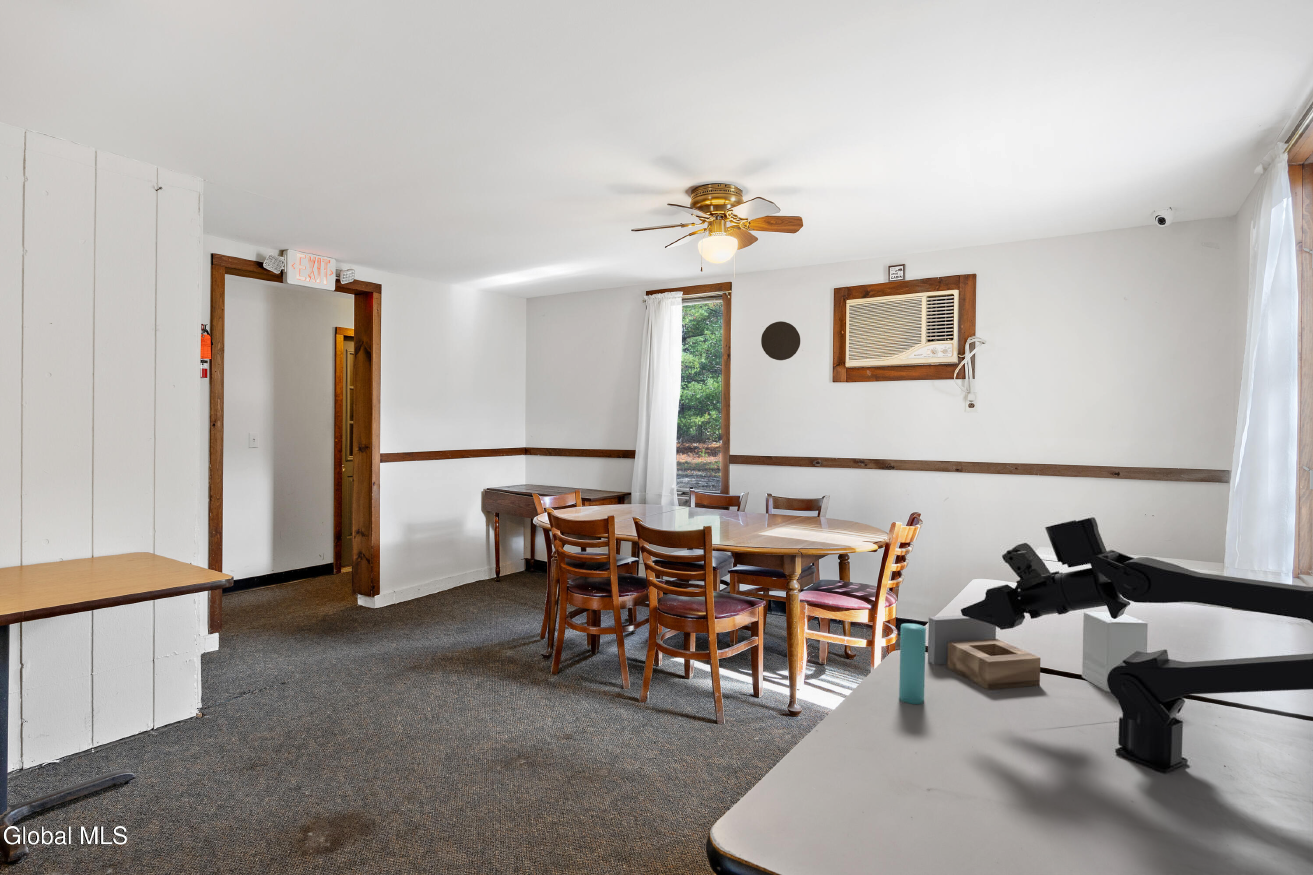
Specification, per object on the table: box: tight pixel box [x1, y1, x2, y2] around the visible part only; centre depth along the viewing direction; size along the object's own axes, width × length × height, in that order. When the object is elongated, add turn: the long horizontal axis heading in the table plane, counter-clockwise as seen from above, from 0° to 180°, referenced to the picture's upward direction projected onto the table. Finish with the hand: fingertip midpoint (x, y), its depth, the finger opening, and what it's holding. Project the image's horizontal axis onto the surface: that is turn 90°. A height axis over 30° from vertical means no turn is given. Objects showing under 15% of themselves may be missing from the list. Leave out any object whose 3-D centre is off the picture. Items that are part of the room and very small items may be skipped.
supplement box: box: [1081, 611, 1149, 693], centre depth 124 cm, size 7×7×13 cm
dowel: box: [898, 623, 927, 705], centre depth 116 cm, size 4×4×12 cm
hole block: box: [946, 638, 1041, 691], centre depth 127 cm, size 11×11×5 cm
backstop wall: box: [927, 614, 997, 666], centre depth 135 cm, size 2×14×9 cm, turn 104°
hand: (974, 607), depth 115 cm, fingers open, 9 cm apart
